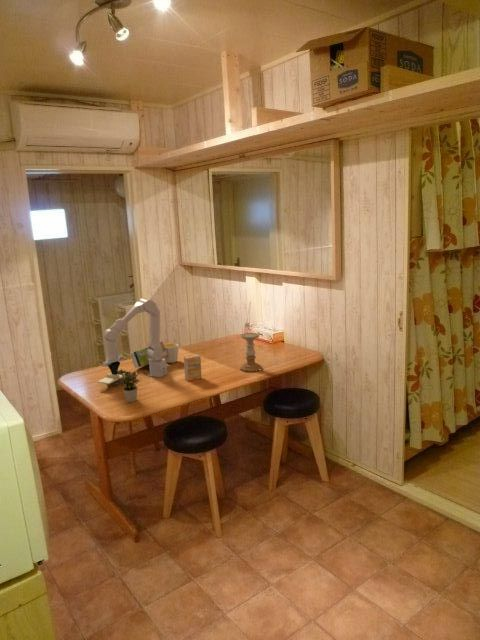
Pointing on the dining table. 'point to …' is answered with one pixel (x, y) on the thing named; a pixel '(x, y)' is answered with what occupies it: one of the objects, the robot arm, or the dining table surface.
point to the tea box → (144, 356)
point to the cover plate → (110, 378)
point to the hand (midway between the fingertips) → (114, 375)
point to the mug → (171, 352)
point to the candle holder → (250, 353)
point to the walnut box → (122, 378)
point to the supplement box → (192, 367)
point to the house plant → (129, 387)
